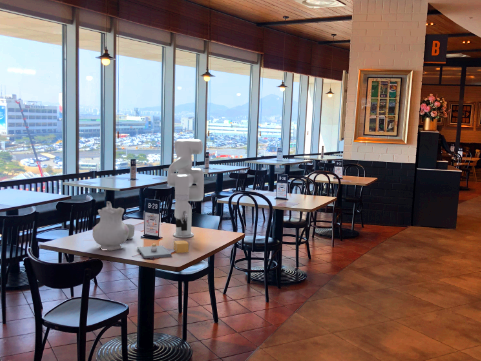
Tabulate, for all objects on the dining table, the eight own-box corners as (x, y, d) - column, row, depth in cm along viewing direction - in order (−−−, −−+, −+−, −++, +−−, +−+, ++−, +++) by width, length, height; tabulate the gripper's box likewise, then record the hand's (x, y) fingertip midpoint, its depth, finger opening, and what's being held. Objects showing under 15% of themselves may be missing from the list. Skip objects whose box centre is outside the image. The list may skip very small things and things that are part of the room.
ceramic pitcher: (87, 246, 264) (83, 203, 260) (120, 240, 275) (117, 198, 271) (100, 256, 246) (97, 210, 242) (135, 248, 258) (132, 204, 253)
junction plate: (137, 249, 256) (137, 241, 256) (162, 248, 262) (162, 239, 262) (144, 258, 240) (144, 249, 240) (171, 256, 246) (171, 247, 245)
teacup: (132, 236, 287) (132, 223, 287) (136, 240, 278) (136, 226, 277) (109, 237, 281) (109, 224, 281) (112, 242, 272) (112, 228, 271)
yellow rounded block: (173, 250, 259) (173, 241, 258) (184, 249, 262) (185, 240, 261) (176, 253, 253) (177, 244, 252) (188, 252, 256) (188, 243, 255)
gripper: (170, 195, 260) (170, 226, 262) (180, 200, 244) (179, 232, 246) (183, 195, 263) (183, 225, 265) (193, 199, 247) (192, 231, 249)
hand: (181, 228), depth 255 cm, fingers open, 9 cm apart
